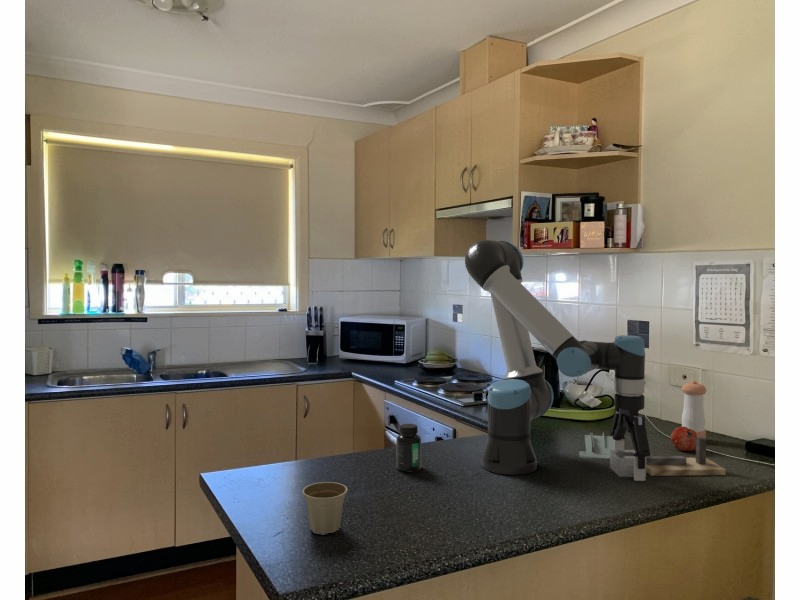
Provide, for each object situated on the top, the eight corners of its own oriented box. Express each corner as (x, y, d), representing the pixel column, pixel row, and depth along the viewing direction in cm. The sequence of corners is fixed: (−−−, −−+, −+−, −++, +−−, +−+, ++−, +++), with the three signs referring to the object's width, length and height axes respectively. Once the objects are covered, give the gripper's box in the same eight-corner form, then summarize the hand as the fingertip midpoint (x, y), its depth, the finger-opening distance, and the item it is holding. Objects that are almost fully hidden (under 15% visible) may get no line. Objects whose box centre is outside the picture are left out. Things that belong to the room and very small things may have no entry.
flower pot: (349, 519, 129) (348, 481, 129) (346, 539, 120) (346, 497, 119) (306, 520, 129) (305, 482, 129) (300, 540, 120) (299, 498, 119)
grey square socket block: (619, 476, 155) (620, 458, 155) (610, 468, 162) (610, 450, 162) (646, 476, 155) (646, 457, 155) (635, 467, 162) (635, 449, 162)
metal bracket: (577, 428, 183) (629, 430, 180) (577, 444, 185) (628, 447, 182) (579, 454, 170) (635, 457, 167) (579, 471, 172) (634, 475, 168)
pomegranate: (666, 454, 181) (676, 442, 173) (665, 432, 185) (675, 419, 177) (692, 458, 180) (703, 446, 172) (690, 436, 184) (701, 423, 176)
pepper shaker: (675, 438, 190) (676, 379, 189) (691, 435, 193) (692, 378, 192) (695, 444, 184) (696, 383, 183) (710, 441, 187) (712, 381, 186)
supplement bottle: (421, 472, 159) (421, 429, 159) (396, 472, 159) (396, 429, 159) (420, 464, 166) (420, 422, 166) (396, 464, 166) (396, 422, 166)
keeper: (651, 475, 156) (651, 444, 156) (635, 463, 166) (635, 433, 166) (725, 474, 156) (726, 443, 156) (705, 462, 166) (705, 433, 166)
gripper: (665, 403, 145) (664, 488, 146) (624, 384, 170) (624, 456, 171) (635, 403, 145) (634, 488, 146) (598, 384, 170) (598, 457, 171)
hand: (628, 471), depth 159 cm, fingers open, 13 cm apart
